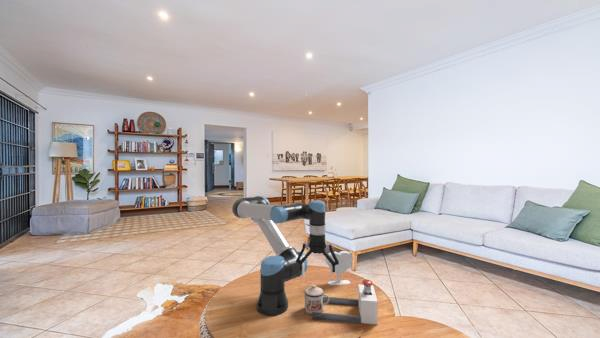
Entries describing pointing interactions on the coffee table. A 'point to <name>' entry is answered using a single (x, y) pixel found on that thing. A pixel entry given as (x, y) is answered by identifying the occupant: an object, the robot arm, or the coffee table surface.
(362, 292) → the end cabinet
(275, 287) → the robot arm
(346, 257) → the heart sculpture
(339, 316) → the pair of grey rails
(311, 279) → the coffee table surface
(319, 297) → the teacup with lid
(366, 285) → the red knob
